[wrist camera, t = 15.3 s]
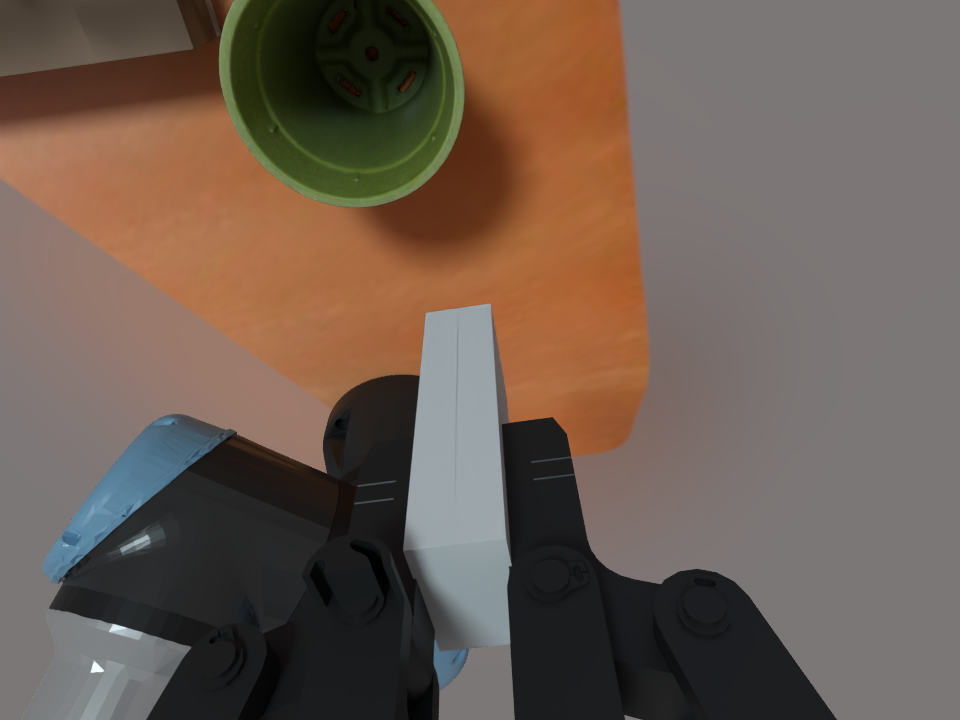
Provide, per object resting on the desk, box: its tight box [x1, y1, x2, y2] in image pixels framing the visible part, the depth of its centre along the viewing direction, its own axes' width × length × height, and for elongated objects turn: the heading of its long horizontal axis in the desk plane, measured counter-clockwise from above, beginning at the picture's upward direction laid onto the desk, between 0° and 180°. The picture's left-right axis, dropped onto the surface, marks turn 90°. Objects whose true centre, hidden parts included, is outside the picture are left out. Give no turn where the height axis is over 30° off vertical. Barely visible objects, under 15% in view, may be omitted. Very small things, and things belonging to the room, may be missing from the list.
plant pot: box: [219, 0, 465, 207], centre depth 35 cm, size 12×12×11 cm
